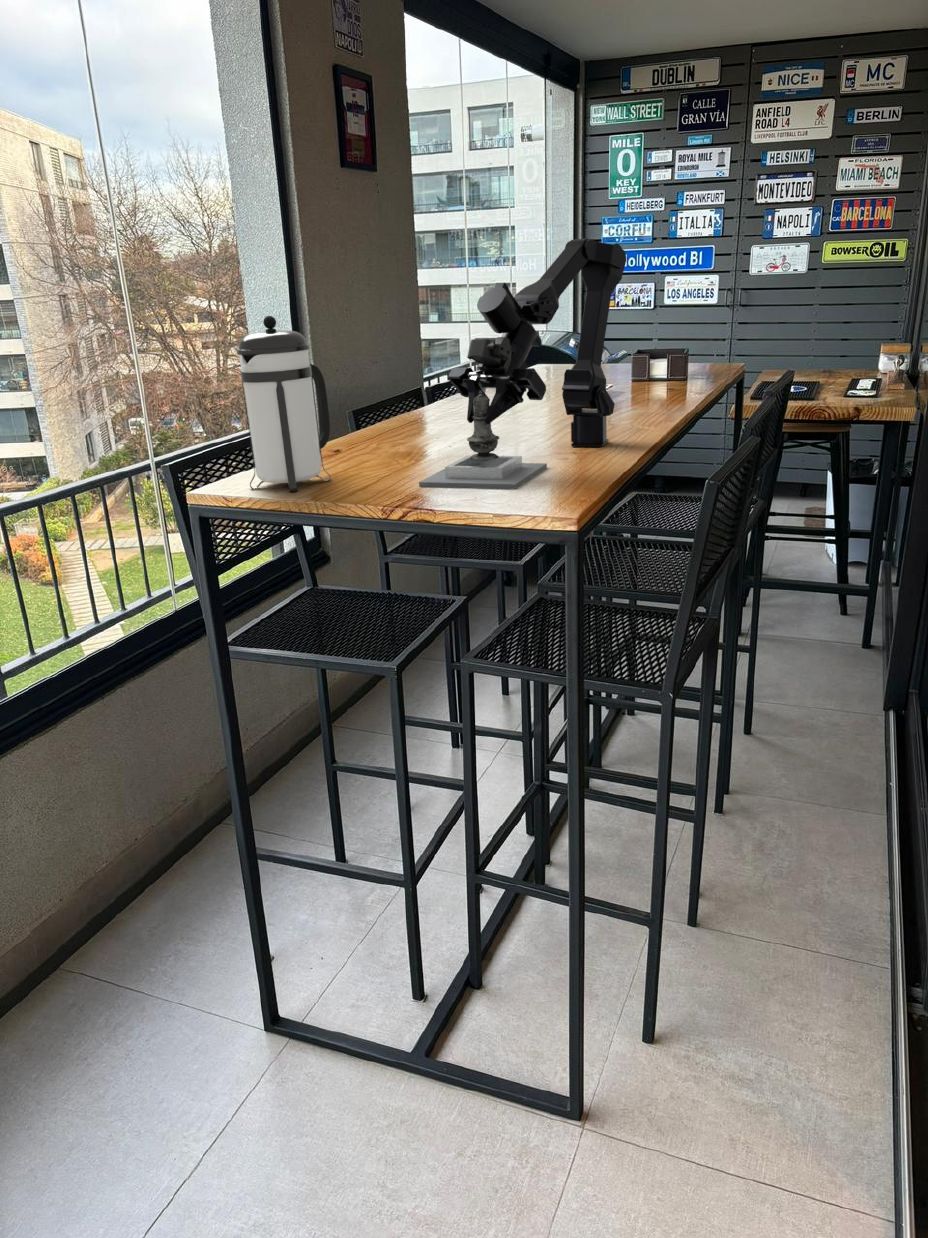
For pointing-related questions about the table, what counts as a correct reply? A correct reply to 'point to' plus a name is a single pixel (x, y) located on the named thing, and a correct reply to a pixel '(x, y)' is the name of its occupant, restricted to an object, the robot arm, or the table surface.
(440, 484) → the socket board
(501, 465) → the socket collar
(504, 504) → the table surface
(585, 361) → the robot arm
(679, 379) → the table surface
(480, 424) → the salt shaker
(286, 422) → the coffee press
